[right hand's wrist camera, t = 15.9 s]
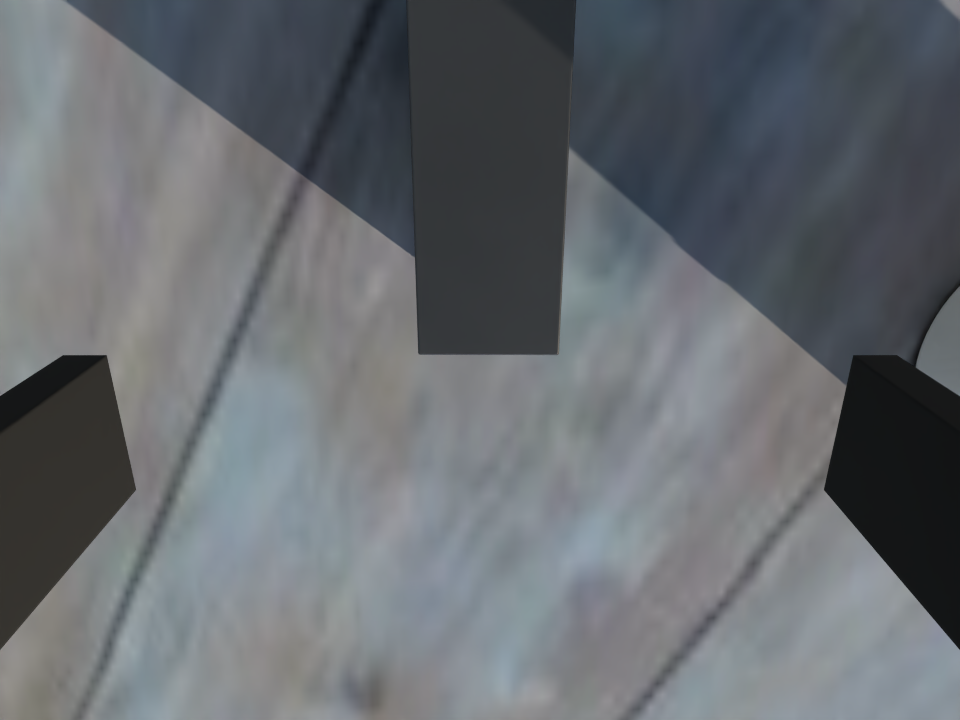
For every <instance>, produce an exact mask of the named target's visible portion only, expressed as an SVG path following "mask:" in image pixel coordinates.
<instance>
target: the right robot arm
mask: <svg viewBox="0 0 960 720" xmlns="http://www.w3.org/2000/svg"><path fill="white" fill-rule="evenodd" d="M135 490H136V487H135V483H134V478H133V474H132V469H131V465H130V460H129V455H128V451H127V446H126V442H125V437H124V433H123V428H122V423H121V419H120V414H119V410H118V405H117V401H116V396H115V391H114V387H113V382H112V378H111V373H110V369H109V364H108V359H107V355H63V356H61V357H60V358H58V359H57V360H55V361H54V362H52V363H51V364H49V365H47V366H46V367H44V368H43V369H41V370H40V371H38V372H37V373H35V374H34V375H32V376H30V377H29V378H27V379H26V380H24V381H23V382H21V383H20V384H18V385H17V386H15V387H14V388H12V389H10V390H9V391H7V392H6V393H4V394H3V395H1V396H0V649H1V648H2V647H3V646H4V645H5V643H6V642H7V641H8V640H9V639H10V638H11V636H12V635H13V634H14V633H15V632H16V631H17V629H18V628H19V627H20V626H21V625H22V623H23V622H24V621H25V620H26V619H27V618H28V616H29V615H30V614H31V613H32V612H33V611H34V609H35V608H36V607H37V606H38V605H39V603H40V602H41V601H42V600H43V599H44V598H45V596H46V595H47V594H48V593H49V592H50V591H51V589H52V588H53V587H54V586H55V585H56V583H57V582H58V581H59V580H60V579H61V578H62V576H63V575H64V574H65V573H66V572H67V570H68V569H69V568H70V567H71V566H72V565H73V563H74V562H75V561H76V560H77V559H78V558H79V556H80V555H81V554H82V553H83V552H84V550H85V549H86V548H87V547H88V546H89V545H90V543H91V542H92V541H93V540H94V539H95V538H96V536H97V535H98V534H99V533H100V532H101V530H102V529H103V528H104V527H105V526H106V525H107V523H108V522H109V521H110V520H111V519H112V518H113V516H114V515H115V514H116V513H117V512H118V510H119V509H120V508H121V507H122V506H123V505H124V503H125V502H126V501H127V500H128V499H129V497H130V496H131V495H132V494H133V493H134V492H135ZM824 490H825V492H826V493H827V494H828V495H829V496H830V497H831V499H832V500H833V501H834V502H835V503H836V505H837V506H838V507H839V508H840V509H841V510H842V512H843V513H844V514H845V515H846V516H847V518H848V519H849V520H850V521H851V522H852V523H853V525H854V526H855V527H856V528H857V529H858V530H859V532H860V533H861V534H862V535H863V536H864V538H865V539H866V540H867V541H868V542H869V543H870V545H871V546H872V547H873V548H874V549H875V550H876V552H877V553H878V554H879V555H880V556H881V558H882V559H883V560H884V561H885V562H886V563H887V565H888V566H889V567H890V568H891V569H892V570H893V572H894V573H895V574H896V575H897V576H898V578H899V579H900V580H901V581H902V582H903V583H904V585H905V586H906V587H907V588H908V589H909V591H910V592H911V593H912V594H913V595H914V596H915V598H916V599H917V600H918V601H919V602H920V603H921V605H922V606H923V607H924V608H925V609H926V611H927V612H928V613H929V614H930V615H931V616H932V618H933V619H934V620H935V621H936V622H937V623H938V625H939V626H940V627H941V628H942V629H943V631H944V632H945V633H946V634H947V635H948V636H949V638H950V639H951V640H952V641H953V642H954V643H955V645H956V646H957V647H958V648H959V649H960V396H959V395H957V394H956V393H954V392H953V391H951V390H950V389H948V388H946V387H945V386H943V385H942V384H940V383H939V382H937V381H936V380H934V379H933V378H931V377H930V376H928V375H926V374H925V373H923V372H922V371H920V370H919V369H917V368H916V367H914V366H913V365H911V364H909V363H908V362H906V361H905V360H903V359H902V358H900V357H899V356H897V355H853V359H852V364H851V369H850V373H849V378H848V382H847V387H846V391H845V396H844V401H843V405H842V410H841V414H840V419H839V423H838V428H837V433H836V437H835V442H834V446H833V451H832V455H831V460H830V465H829V469H828V474H827V478H826V483H825V487H824Z"/></svg>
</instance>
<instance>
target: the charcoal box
mask: <svg viewBox="0 0 960 720" xmlns="http://www.w3.org/2000/svg"><path fill="white" fill-rule="evenodd" d="M406 4H407V33H408V63H409V92H410V122H411V151H412V180H413V210H414V239H415V269H416V298H417V328H418V353H419V354H420V355H558V354H559V338H560V318H561V297H562V277H563V256H564V236H565V216H566V195H567V175H568V154H569V134H570V113H571V93H572V72H573V52H574V31H575V11H576V0H406Z"/></svg>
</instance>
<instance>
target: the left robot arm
mask: <svg viewBox="0 0 960 720" xmlns="http://www.w3.org/2000/svg"><path fill="white" fill-rule="evenodd" d="M916 368H917V369H919V370H920V371H922V372H923V373H925V374H926V375H928V376H930V377H931V378H933V379H934V380H936V381H937V382H939V383H940V384H942V385H943V386H945V387H946V388H948V389H950V390H951V391H953V392H954V393H956V394H957V395H959V396H960V286H959V287H958V288H957V289H956V291H955V292H954V293H953V294H952V295H951V296H950V298H949V299H948V300H947V301H946V303H945V304H944V305H943V307H942V308H941V310H940V311H939V313H938V314H937V316H936V317H935V319H934V321H933V322H932V324H931V326H930V328H929V330H928V332H927V334H926V336H925V339H924V341H923V343H922V346H921V349H920V352H919V355H918V359H917V363H916Z"/></svg>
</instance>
